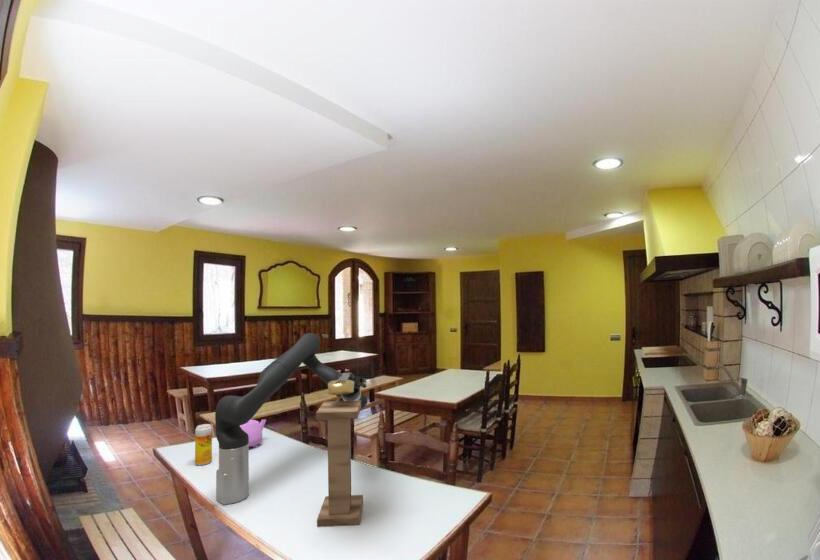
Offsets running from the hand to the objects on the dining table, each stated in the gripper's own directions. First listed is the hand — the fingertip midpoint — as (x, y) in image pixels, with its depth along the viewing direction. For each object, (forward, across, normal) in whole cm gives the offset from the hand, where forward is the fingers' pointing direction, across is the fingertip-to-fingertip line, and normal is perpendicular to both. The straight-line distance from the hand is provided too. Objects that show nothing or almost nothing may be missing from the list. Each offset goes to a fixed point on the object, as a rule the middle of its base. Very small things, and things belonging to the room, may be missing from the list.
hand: (345, 375), depth 139 cm
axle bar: (+2, 0, +5) cm, 5 cm away
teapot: (-61, -52, +10) cm, 81 cm away
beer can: (-46, -62, +19) cm, 80 cm away
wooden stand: (-7, 0, +41) cm, 41 cm away
